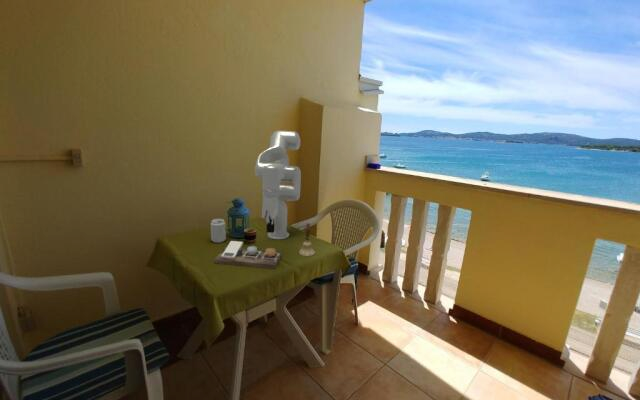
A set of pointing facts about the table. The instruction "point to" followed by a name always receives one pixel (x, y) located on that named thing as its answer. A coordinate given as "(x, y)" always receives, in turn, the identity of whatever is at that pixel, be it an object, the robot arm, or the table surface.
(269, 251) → the orange button
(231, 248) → the rocker
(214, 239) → the can
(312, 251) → the hand bell
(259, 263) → the panel
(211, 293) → the table surface
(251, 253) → the grey button
